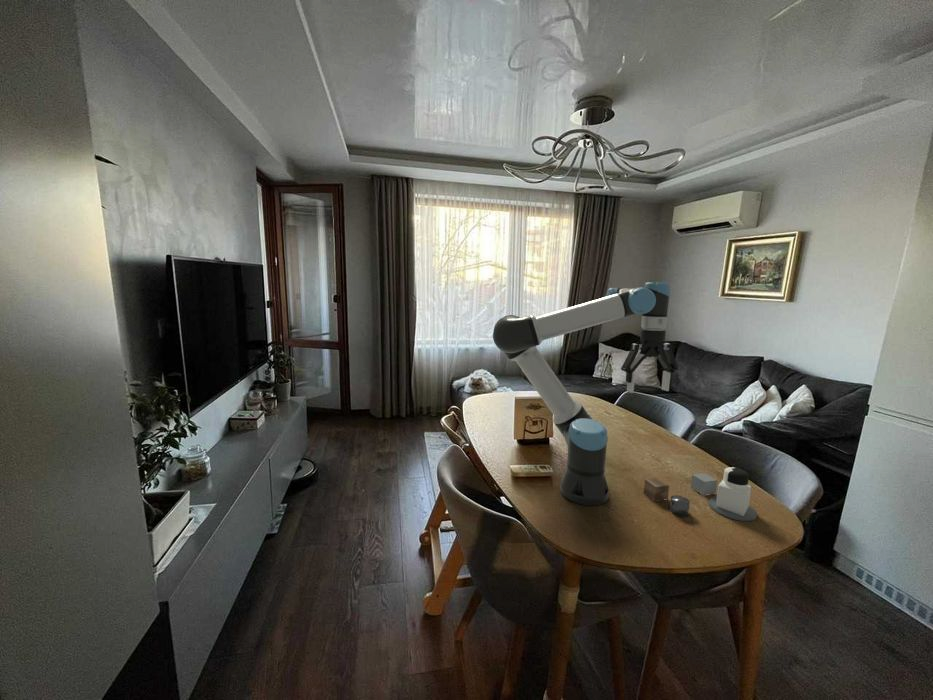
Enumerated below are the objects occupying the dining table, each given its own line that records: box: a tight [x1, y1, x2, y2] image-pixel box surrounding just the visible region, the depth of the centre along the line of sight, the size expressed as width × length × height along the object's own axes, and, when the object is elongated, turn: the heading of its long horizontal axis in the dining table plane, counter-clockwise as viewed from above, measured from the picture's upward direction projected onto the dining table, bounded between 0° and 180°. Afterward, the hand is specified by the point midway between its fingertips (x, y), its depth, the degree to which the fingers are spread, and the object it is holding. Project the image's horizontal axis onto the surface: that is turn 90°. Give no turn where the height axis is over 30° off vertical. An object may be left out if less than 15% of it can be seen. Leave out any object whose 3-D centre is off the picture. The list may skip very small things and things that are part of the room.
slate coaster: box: [708, 496, 758, 522], centre depth 116 cm, size 12×12×1 cm
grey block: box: [690, 472, 718, 496], centre depth 127 cm, size 5×5×5 cm
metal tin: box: [669, 494, 691, 518], centre depth 114 cm, size 5×5×4 cm
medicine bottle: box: [716, 466, 752, 516], centre depth 115 cm, size 7×7×12 cm
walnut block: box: [643, 477, 670, 502], centre depth 123 cm, size 5×5×5 cm
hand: (647, 391), depth 130 cm, fingers open, 13 cm apart
